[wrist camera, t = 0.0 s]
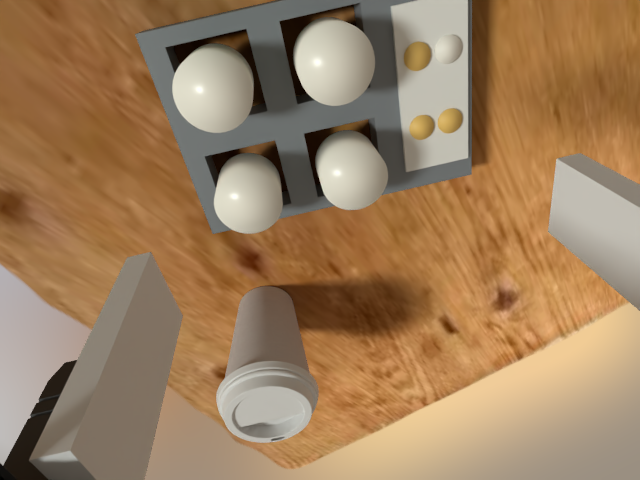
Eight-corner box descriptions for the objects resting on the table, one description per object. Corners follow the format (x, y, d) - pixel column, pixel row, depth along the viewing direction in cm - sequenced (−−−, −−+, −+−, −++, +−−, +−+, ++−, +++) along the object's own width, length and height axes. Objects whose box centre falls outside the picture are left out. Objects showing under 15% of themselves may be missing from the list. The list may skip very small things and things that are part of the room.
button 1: (210, 161, 37) (204, 181, 33) (272, 146, 37) (273, 165, 33) (229, 215, 40) (226, 239, 36) (286, 202, 40) (289, 225, 36)
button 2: (171, 52, 32) (159, 61, 28) (242, 35, 32) (240, 43, 28) (196, 123, 35) (188, 140, 31) (261, 108, 35) (261, 123, 31)
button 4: (285, 26, 32) (289, 31, 28) (356, 9, 32) (369, 13, 28) (301, 99, 35) (306, 113, 31) (366, 84, 35) (379, 96, 31)
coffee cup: (222, 334, 52) (210, 447, 39) (230, 271, 47) (219, 377, 35) (298, 339, 54) (310, 448, 41) (313, 279, 49) (331, 382, 37)
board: (144, 30, 34) (133, 35, 31) (456, -41, 34) (475, -44, 31) (215, 219, 44) (212, 237, 41) (459, 163, 44) (474, 176, 41)
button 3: (309, 138, 37) (315, 155, 33) (371, 123, 37) (384, 139, 33) (321, 194, 40) (327, 216, 36) (378, 180, 40) (391, 201, 36)
